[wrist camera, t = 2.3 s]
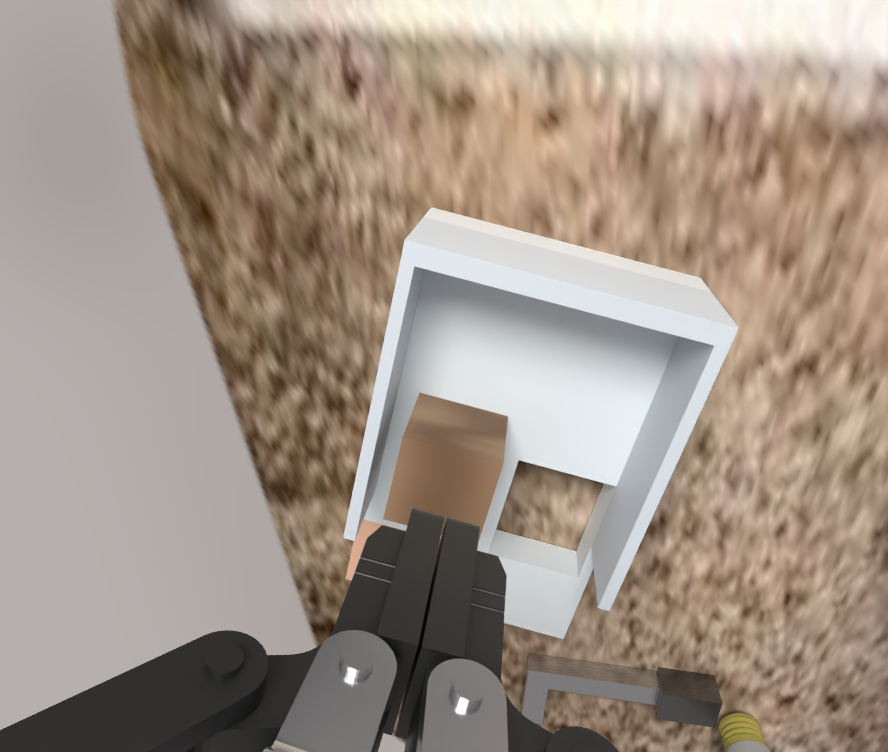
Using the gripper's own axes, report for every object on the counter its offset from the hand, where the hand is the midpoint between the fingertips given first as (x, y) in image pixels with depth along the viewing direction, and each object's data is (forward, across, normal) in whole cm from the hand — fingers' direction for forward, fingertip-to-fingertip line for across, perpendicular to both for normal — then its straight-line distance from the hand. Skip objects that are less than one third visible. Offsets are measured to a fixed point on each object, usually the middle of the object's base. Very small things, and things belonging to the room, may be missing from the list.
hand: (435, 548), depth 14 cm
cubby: (+17, -2, +7) cm, 18 cm away
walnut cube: (+15, 0, +6) cm, 16 cm away
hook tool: (+16, -13, +20) cm, 29 cm away
